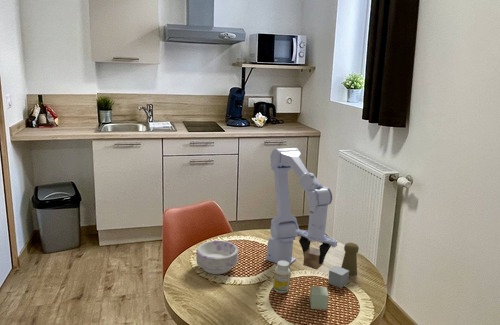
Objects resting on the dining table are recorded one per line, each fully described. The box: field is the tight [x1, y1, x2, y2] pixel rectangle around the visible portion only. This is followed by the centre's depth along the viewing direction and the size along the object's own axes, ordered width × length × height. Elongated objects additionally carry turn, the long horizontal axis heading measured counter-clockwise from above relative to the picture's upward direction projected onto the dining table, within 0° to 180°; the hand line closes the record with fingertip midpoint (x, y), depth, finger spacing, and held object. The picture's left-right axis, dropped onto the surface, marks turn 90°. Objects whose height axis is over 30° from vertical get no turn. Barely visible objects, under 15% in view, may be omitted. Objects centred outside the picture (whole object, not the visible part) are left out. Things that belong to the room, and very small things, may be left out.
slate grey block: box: [327, 265, 350, 289], centre depth 145 cm, size 5×5×5 cm
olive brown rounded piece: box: [340, 242, 360, 276], centre depth 153 cm, size 6×6×11 cm
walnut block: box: [303, 246, 324, 270], centre depth 140 cm, size 5×5×5 cm
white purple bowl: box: [195, 240, 239, 275], centre depth 151 cm, size 15×15×8 cm
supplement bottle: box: [273, 260, 292, 294], centre depth 139 cm, size 5×5×10 cm
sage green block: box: [309, 285, 329, 311], centre depth 131 cm, size 5×5×5 cm
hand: (313, 260), depth 140 cm, fingers closed on walnut block, 5 cm apart
